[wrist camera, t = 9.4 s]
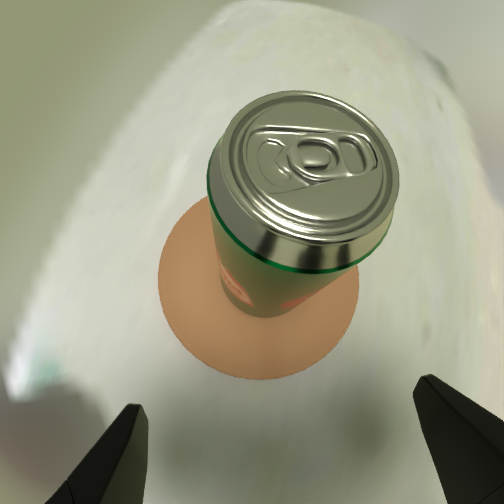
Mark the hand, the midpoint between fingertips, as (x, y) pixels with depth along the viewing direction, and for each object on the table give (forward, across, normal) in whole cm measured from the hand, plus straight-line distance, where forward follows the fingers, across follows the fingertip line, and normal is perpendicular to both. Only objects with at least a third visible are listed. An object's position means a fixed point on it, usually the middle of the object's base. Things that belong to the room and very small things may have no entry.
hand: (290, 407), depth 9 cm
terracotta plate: (+11, 0, +2) cm, 12 cm away
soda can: (+10, 0, +1) cm, 10 cm away
